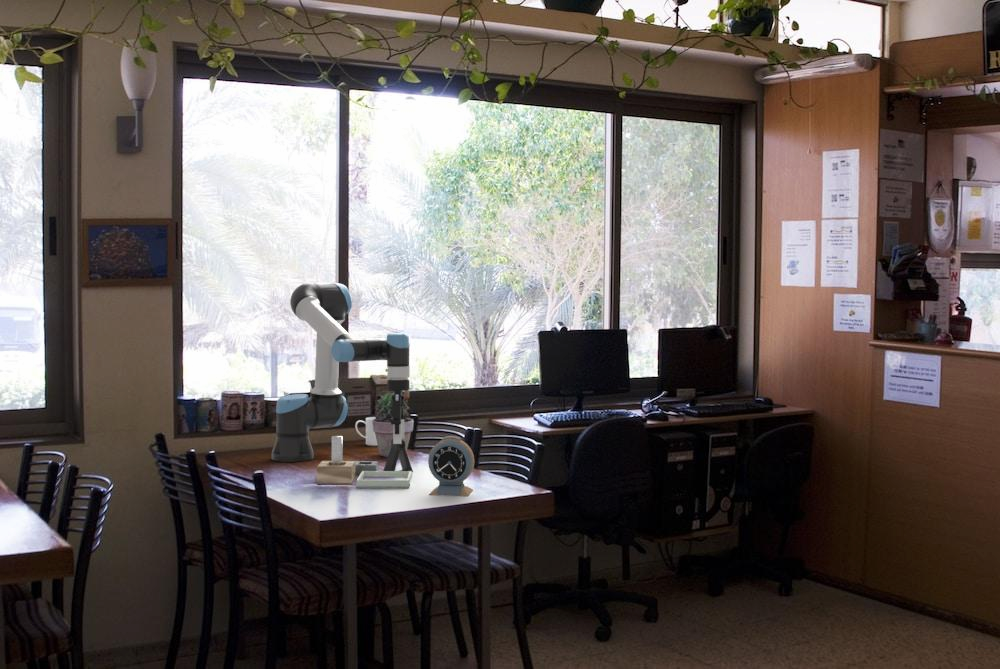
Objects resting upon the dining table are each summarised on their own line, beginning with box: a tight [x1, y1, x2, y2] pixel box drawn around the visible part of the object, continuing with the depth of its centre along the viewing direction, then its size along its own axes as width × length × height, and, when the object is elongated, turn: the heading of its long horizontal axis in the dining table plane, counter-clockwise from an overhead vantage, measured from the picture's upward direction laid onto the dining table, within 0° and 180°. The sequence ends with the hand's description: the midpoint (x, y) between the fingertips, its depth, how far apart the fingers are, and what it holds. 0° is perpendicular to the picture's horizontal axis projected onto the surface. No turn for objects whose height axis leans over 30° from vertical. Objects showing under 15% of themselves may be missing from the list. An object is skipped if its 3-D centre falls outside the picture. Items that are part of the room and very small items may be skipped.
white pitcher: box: [354, 416, 378, 447], centre depth 440 cm, size 12×8×10 cm, turn 110°
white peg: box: [331, 435, 344, 465], centre depth 360 cm, size 4×4×15 cm
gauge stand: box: [354, 460, 379, 476], centre depth 373 cm, size 8×8×4 cm
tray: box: [356, 470, 413, 489], centre depth 359 cm, size 17×17×2 cm
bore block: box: [316, 460, 356, 486], centre depth 360 cm, size 11×11×6 cm
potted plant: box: [370, 389, 418, 458], centre depth 415 cm, size 18×20×25 cm
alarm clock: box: [427, 435, 475, 497], centre depth 344 cm, size 14×10×18 cm
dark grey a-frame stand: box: [382, 439, 414, 473], centre depth 375 cm, size 9×6×12 cm, turn 115°
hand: (398, 441), depth 375 cm, fingers open, 13 cm apart
